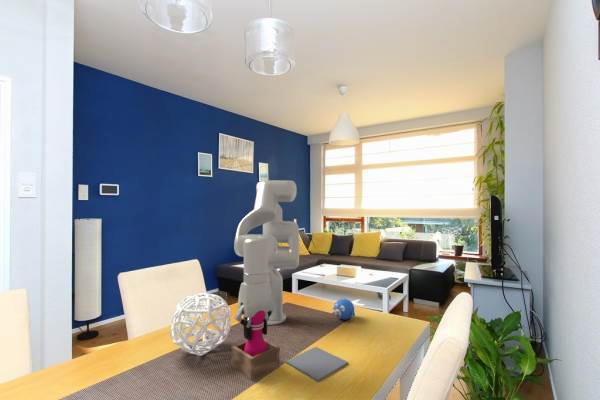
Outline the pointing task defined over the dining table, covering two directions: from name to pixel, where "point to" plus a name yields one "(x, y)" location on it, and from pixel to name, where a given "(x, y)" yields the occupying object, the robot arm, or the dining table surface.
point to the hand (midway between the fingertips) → (255, 335)
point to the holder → (255, 360)
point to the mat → (316, 363)
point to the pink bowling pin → (256, 335)
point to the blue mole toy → (344, 309)
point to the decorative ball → (192, 323)
